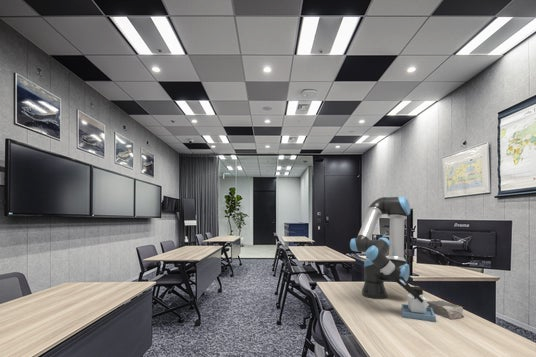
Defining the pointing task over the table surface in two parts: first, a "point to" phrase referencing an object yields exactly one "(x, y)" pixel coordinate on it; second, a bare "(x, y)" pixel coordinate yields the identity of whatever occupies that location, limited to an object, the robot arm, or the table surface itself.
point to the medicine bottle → (413, 303)
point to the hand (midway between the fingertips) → (424, 303)
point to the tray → (418, 314)
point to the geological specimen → (446, 309)
